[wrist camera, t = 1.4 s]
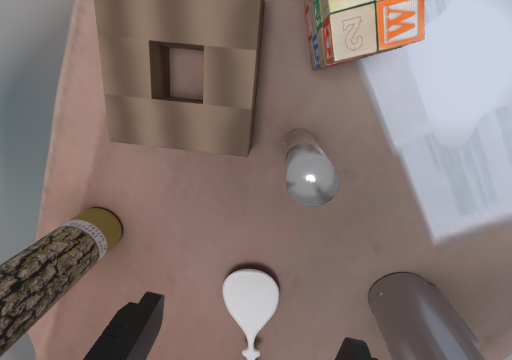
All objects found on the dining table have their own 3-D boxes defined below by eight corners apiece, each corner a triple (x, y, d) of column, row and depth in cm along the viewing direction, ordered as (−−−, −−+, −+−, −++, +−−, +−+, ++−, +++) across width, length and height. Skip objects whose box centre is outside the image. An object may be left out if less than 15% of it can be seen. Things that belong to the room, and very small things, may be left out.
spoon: (231, 390, 51) (228, 411, 48) (222, 259, 40) (218, 274, 37) (276, 394, 51) (276, 415, 47) (279, 261, 40) (280, 277, 36)
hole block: (264, 3, 28) (261, -14, 23) (251, 146, 33) (247, 156, 29) (121, -10, 28) (90, -28, 24) (132, 133, 34) (109, 141, 29)
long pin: (316, 130, 32) (344, 161, 19) (311, 161, 33) (333, 209, 20) (285, 127, 32) (290, 155, 19) (281, 157, 34) (283, 203, 20)
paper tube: (85, 199, 38) (-221, 379, 15) (128, 216, 39) (-101, 417, 15) (78, 234, 40) (-194, 437, 17) (119, 250, 41) (-92, 469, 18)
